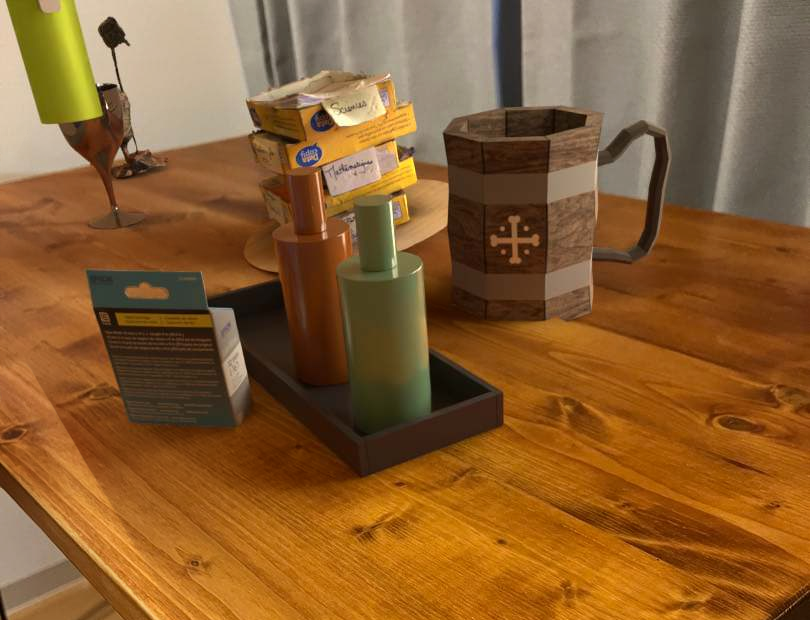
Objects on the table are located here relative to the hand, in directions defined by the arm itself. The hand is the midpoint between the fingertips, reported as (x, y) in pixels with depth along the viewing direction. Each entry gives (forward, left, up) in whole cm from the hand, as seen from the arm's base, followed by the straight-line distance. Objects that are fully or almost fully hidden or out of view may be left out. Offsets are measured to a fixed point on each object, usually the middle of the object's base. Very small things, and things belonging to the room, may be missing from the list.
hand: (42, 10), depth 80 cm
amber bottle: (+7, -39, -24) cm, 46 cm away
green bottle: (+7, -49, -24) cm, 55 cm away
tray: (+7, -39, -25) cm, 46 cm away
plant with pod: (+15, +44, -25) cm, 53 cm away
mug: (+31, -37, -25) cm, 54 cm away
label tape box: (-5, -38, -25) cm, 46 cm away
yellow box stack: (+25, -9, -25) cm, 36 cm away
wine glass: (+6, +20, -25) cm, 33 cm away
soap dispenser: (0, 0, -9) cm, 9 cm away
